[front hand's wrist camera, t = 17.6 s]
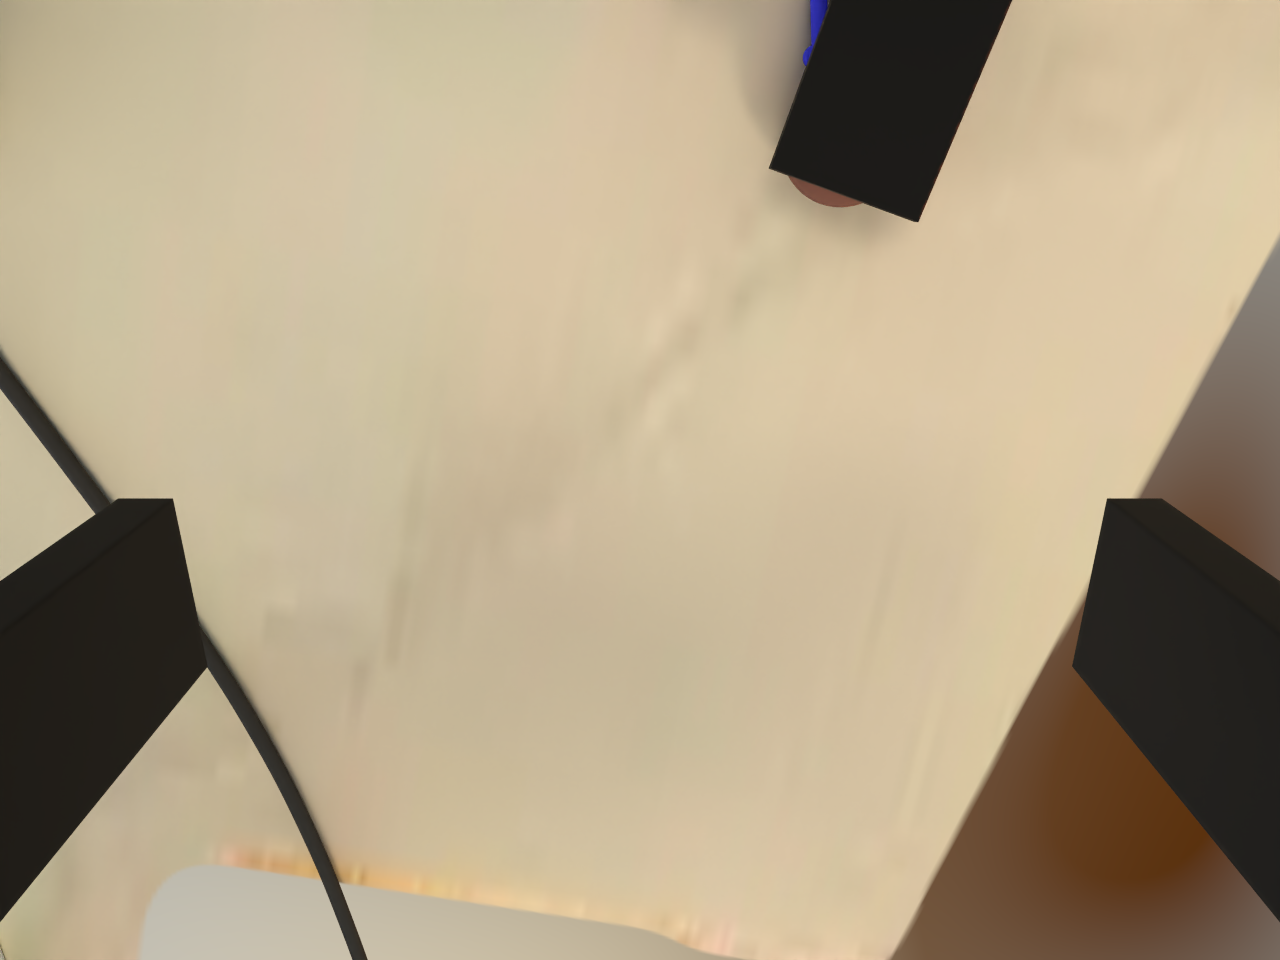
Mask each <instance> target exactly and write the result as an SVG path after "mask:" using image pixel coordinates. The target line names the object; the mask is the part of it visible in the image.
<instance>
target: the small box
mask: <svg viewBox="0 0 1280 960" xmlns="http://www.w3.org/2000/svg"><path fill="white" fill-rule="evenodd" d="M0 960H5V958H4V956H3V953H2V950H1V947H0Z"/></svg>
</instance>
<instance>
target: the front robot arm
mask: <svg viewBox="0 0 1280 960" xmlns="http://www.w3.org/2000/svg"><path fill="white" fill-rule="evenodd" d="M0 389H1V390H2V392H3V393H4V394H5V395H6V397H7V398H8V399H9V401H10V402H11V403H12V405H13V406H14V407H15V408H16V410H17V411H18V412H19V414H20V415H21V416H22V418H23V419H24V420H25V422H26V423H27V424H28V425H29V427H30V428H31V429H32V431H33V432H34V433H35V435H36V436H37V437H38V439H39V440H40V441H41V443H42V444H43V445H44V446H45V448H46V449H47V450H48V452H49V453H50V454H51V456H52V457H53V458H54V460H55V461H56V462H57V464H58V465H59V466H60V468H61V469H62V470H63V472H64V473H65V474H66V476H67V477H68V478H69V480H70V481H71V482H72V484H73V485H74V486H75V487H76V489H77V490H78V491H79V493H80V494H81V495H82V497H83V498H84V499H85V501H86V502H87V503H88V505H89V506H90V507H91V509H92V510H93V511H94V513H95V514H96V515H94V516H93V517H91V518H90V519H88V520H87V521H86V522H84V523H83V524H81V525H80V526H78V527H77V528H76V529H74V530H73V531H71V532H70V533H68V534H67V535H66V536H64V537H63V538H61V539H60V540H58V541H57V542H56V543H54V544H53V545H51V546H50V547H48V548H47V549H45V550H44V551H43V552H41V553H40V554H38V555H37V556H35V557H34V558H33V559H31V560H30V561H28V562H27V563H25V564H24V565H23V566H21V567H20V568H18V569H17V570H15V571H14V572H13V573H11V574H10V575H8V576H7V577H5V578H4V579H3V580H1V581H0V922H1V920H2V919H3V918H4V917H5V915H6V914H7V913H8V912H9V910H10V909H11V908H12V907H13V906H14V904H15V903H16V902H17V901H18V899H19V898H20V897H21V896H22V894H23V893H24V892H25V891H26V890H27V888H28V887H29V886H30V885H31V883H32V882H33V881H34V880H35V878H36V877H37V876H38V875H39V874H40V872H41V871H42V870H43V869H44V867H45V866H46V865H47V864H48V862H49V861H50V860H51V859H52V858H53V856H54V855H55V854H56V853H57V851H58V850H59V849H60V848H61V846H62V845H63V844H64V843H65V842H66V840H67V839H68V838H69V837H70V835H71V834H72V833H73V832H74V830H75V829H76V828H77V827H78V826H79V824H80V823H81V822H82V821H83V819H84V818H85V817H86V816H87V814H88V813H89V812H90V811H91V810H92V808H93V807H94V806H95V805H96V803H97V802H98V801H99V800H100V798H101V797H102V796H103V795H104V794H105V792H106V791H107V790H108V789H109V787H110V786H111V785H112V784H113V782H114V781H115V780H116V779H117V777H118V776H119V775H120V774H121V773H122V771H123V770H124V769H125V768H126V766H127V765H128V764H129V763H130V761H131V760H132V759H133V758H134V757H135V755H136V754H137V753H138V752H139V750H140V749H141V748H142V747H143V745H144V744H145V743H146V742H147V741H148V739H149V738H150V737H151V736H152V734H153V733H154V732H155V731H156V729H157V728H158V727H159V726H160V725H161V723H162V722H163V721H164V720H165V718H166V717H167V716H168V715H169V713H170V712H171V711H172V710H173V709H174V707H175V706H176V705H177V704H178V702H179V701H180V700H181V699H182V697H183V696H184V695H185V694H186V693H187V691H188V690H189V689H190V688H191V686H192V685H193V684H194V683H195V681H196V680H197V679H198V678H199V677H200V675H201V674H202V673H203V672H204V670H205V669H206V668H208V669H209V671H210V672H211V674H212V675H213V677H214V678H215V680H216V681H217V683H218V684H219V686H220V688H221V689H222V691H223V692H224V694H225V696H226V697H227V699H228V700H229V702H230V704H231V705H232V707H233V708H234V710H235V712H236V713H237V715H238V717H239V718H240V720H241V722H242V723H243V725H244V727H245V729H246V730H247V732H248V734H249V735H250V737H251V739H252V741H253V742H254V744H255V746H256V748H257V749H258V751H259V753H260V755H261V756H262V758H263V760H264V762H265V764H266V765H267V767H268V769H269V771H270V773H271V775H272V776H273V778H274V780H275V782H276V784H277V786H278V788H279V790H280V792H281V794H282V796H283V798H284V800H285V802H286V804H287V806H288V808H289V810H290V812H291V814H292V816H293V818H294V820H295V822H296V824H297V826H298V828H299V831H300V833H301V835H302V837H303V839H304V841H305V843H306V846H307V848H308V850H309V852H310V854H311V857H312V859H313V861H314V863H315V866H316V868H317V870H318V873H319V875H320V877H321V880H322V882H323V885H324V887H325V889H326V892H327V894H328V897H329V899H330V902H331V904H332V907H333V910H334V912H335V915H336V917H337V920H338V922H339V925H340V928H341V930H342V933H343V935H344V938H345V941H346V943H347V946H348V949H349V951H350V954H351V957H352V960H367V957H366V954H365V951H364V948H363V945H362V943H361V940H360V937H359V935H358V932H357V929H356V927H355V924H354V921H353V919H352V916H351V913H350V911H349V908H348V905H347V903H346V900H345V897H344V895H343V892H342V890H341V887H340V885H339V882H338V879H337V877H336V875H335V872H334V870H333V867H332V865H331V862H330V860H329V858H328V855H327V853H326V851H325V849H324V846H323V844H322V842H321V840H320V837H319V835H318V833H317V831H316V829H315V826H314V824H313V822H312V820H311V818H310V816H309V813H308V811H307V809H306V807H305V805H304V803H303V801H302V799H301V797H300V795H299V793H298V791H297V789H296V787H295V785H294V783H293V781H292V779H291V777H290V775H289V773H288V771H287V769H286V767H285V765H284V763H283V761H282V760H281V758H280V756H279V754H278V752H277V750H276V749H275V747H274V745H273V743H272V741H271V740H270V738H269V736H268V734H267V733H266V731H265V729H264V727H263V726H262V724H261V722H260V720H259V719H258V717H257V715H256V713H255V712H254V710H253V708H252V707H251V705H250V703H249V702H248V700H247V698H246V697H245V695H244V693H243V692H242V690H241V688H240V687H239V685H238V684H237V682H236V680H235V679H234V677H233V676H232V674H231V672H230V671H229V669H228V668H227V666H226V665H225V663H224V662H223V660H222V658H221V657H220V655H219V654H218V652H217V651H216V649H215V648H214V646H213V645H212V643H211V642H210V640H209V639H208V637H207V636H206V635H205V633H204V632H203V630H202V629H201V627H200V626H199V622H198V617H197V612H196V607H195V603H194V598H193V593H192V588H191V583H190V579H189V574H188V569H187V564H186V559H185V555H184V550H183V545H182V540H181V535H180V531H179V526H178V521H177V516H176V511H175V507H174V502H173V499H117V500H116V501H114V502H113V503H111V504H110V503H109V502H108V500H107V499H106V498H105V496H104V495H103V493H102V492H101V491H100V489H99V488H98V487H97V485H96V484H95V483H94V481H93V480H92V479H91V477H90V476H89V475H88V473H87V472H86V471H85V469H84V468H83V467H82V465H81V464H80V463H79V461H78V460H77V459H76V457H75V456H74V455H73V453H72V452H71V451H70V449H69V448H68V447H67V445H66V444H65V443H64V441H63V440H62V439H61V437H60V436H59V435H58V433H57V432H56V431H55V429H54V428H53V427H52V425H51V424H50V423H49V421H48V420H47V419H46V417H45V416H44V415H43V413H42V412H41V411H40V409H39V408H38V407H37V405H36V404H35V403H34V401H33V400H32V399H31V397H30V396H29V395H28V393H27V392H26V391H25V390H24V388H23V387H22V386H21V384H20V383H19V382H18V380H17V379H16V378H15V376H14V375H13V374H12V372H11V371H10V370H9V368H8V367H7V366H6V365H5V363H4V362H3V361H2V359H1V358H0ZM1072 667H1073V668H1074V669H1075V670H1076V672H1077V673H1078V674H1079V675H1080V677H1081V678H1082V679H1083V680H1084V681H1085V683H1086V684H1087V685H1088V686H1089V687H1090V689H1091V690H1092V691H1093V693H1094V694H1095V695H1096V696H1097V697H1098V699H1099V700H1100V701H1101V702H1102V704H1103V705H1104V706H1105V707H1106V709H1107V710H1108V711H1109V712H1110V713H1111V715H1112V716H1113V717H1114V718H1115V720H1116V721H1117V722H1118V723H1119V725H1120V726H1121V727H1122V728H1123V729H1124V731H1125V732H1126V733H1127V734H1128V736H1129V737H1130V738H1131V739H1132V740H1133V742H1134V743H1135V744H1136V745H1137V747H1138V748H1139V749H1140V750H1141V752H1142V753H1143V754H1144V755H1145V757H1146V758H1147V759H1148V760H1149V761H1150V763H1151V764H1152V765H1153V766H1154V768H1155V769H1156V770H1157V771H1158V773H1159V774H1160V775H1161V776H1162V777H1163V779H1164V780H1165V781H1166V782H1167V784H1168V785H1169V786H1170V787H1171V789H1172V790H1173V791H1174V792H1175V794H1176V795H1177V796H1178V797H1179V798H1180V800H1181V801H1182V802H1183V803H1184V805H1185V806H1186V807H1187V808H1188V810H1189V811H1190V812H1191V813H1192V814H1193V816H1194V817H1195V818H1196V819H1197V821H1198V822H1199V823H1200V824H1201V826H1202V827H1203V828H1204V829H1205V830H1206V832H1207V833H1208V834H1209V835H1210V837H1211V838H1212V839H1213V840H1214V842H1215V843H1216V844H1217V845H1218V846H1219V848H1220V849H1221V850H1222V851H1223V853H1224V854H1225V855H1226V856H1227V857H1228V859H1229V860H1230V861H1231V862H1232V864H1233V865H1234V866H1235V867H1236V869H1237V870H1238V871H1239V872H1240V874H1241V875H1242V876H1243V877H1244V878H1245V880H1246V881H1247V882H1248V883H1249V885H1250V886H1251V887H1252V888H1253V890H1254V891H1255V892H1256V893H1257V894H1258V896H1259V897H1260V898H1261V899H1262V901H1263V902H1264V903H1265V904H1266V906H1267V907H1268V908H1269V909H1270V910H1271V912H1272V913H1273V914H1274V915H1275V917H1276V918H1277V919H1278V920H1279V922H1280V581H1279V580H1277V579H1276V578H1275V577H1273V576H1272V575H1270V574H1269V573H1267V572H1266V571H1265V570H1263V569H1262V568H1260V567H1259V566H1257V565H1256V564H1255V563H1253V562H1252V561H1250V560H1249V559H1247V558H1246V557H1245V556H1243V555H1242V554H1240V553H1239V552H1237V551H1236V550H1234V549H1233V548H1232V547H1230V546H1229V545H1227V544H1226V543H1224V542H1223V541H1222V540H1220V539H1219V538H1217V537H1216V536H1214V535H1213V534H1212V533H1210V532H1209V531H1207V530H1206V529H1204V528H1203V527H1202V526H1200V525H1199V524H1197V523H1196V522H1194V521H1193V520H1192V519H1190V518H1189V517H1187V516H1186V515H1184V514H1183V513H1182V512H1180V511H1179V510H1177V509H1176V508H1174V507H1173V506H1172V505H1170V504H1169V503H1167V502H1166V501H1164V500H1163V499H1107V502H1106V507H1105V511H1104V516H1103V521H1102V526H1101V531H1100V535H1099V540H1098V545H1097V550H1096V555H1095V559H1094V564H1093V569H1092V574H1091V579H1090V583H1089V588H1088V593H1087V598H1086V603H1085V607H1084V612H1083V617H1082V622H1081V627H1080V631H1079V636H1078V641H1077V646H1076V650H1075V655H1074V660H1073V665H1072Z"/></svg>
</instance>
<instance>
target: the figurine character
mask: <svg viewBox="0 0 1280 960" xmlns="http://www.w3.org/2000/svg"><path fill="white" fill-rule="evenodd" d="M1011 2H1012V0H830V2H829V5H828V8H827V0H810V13H811V46H809V47H808V48H807V49H806V50H805V52H804V54H803V62H804V65H805V66H806V68H805V71H804V73H803V76H802V79H801V82H800V84H799V87H798V90H797V93H796V95H795V98H794V101H793V104H792V106H791V109H790V112H789V114H788V117H787V120H786V123H785V125H784V128H783V131H782V134H781V136H780V139H779V142H778V145H777V147H776V150H775V153H774V155H773V158H772V161H771V164H770V166H769V169H772V170H774V171H777V172H780V173H783V174H785V175H788V176H789V178H790V180H791V181H792V183H793V184H794V185H795V187H796V188H797V189H798V190H799V191H800V192H801V193H802V194H804V195H805V196H806V197H808V198H809V199H811V200H813V201H815V202H817V203H820V204H823V205H826V206H832V207H849V206H854V205H858V204H861V203H864V204H867V205H870V206H873V207H875V208H878V209H881V210H883V211H886V212H889V213H892V214H894V215H897V216H900V217H903V218H905V219H908V220H911V221H913V222H919V219H920V217H921V214H922V212H923V210H924V207H925V205H926V203H927V200H928V198H929V196H930V193H931V191H932V188H933V186H934V184H935V181H936V179H937V177H938V174H939V172H940V170H941V167H942V165H943V162H944V160H945V158H946V155H947V153H948V151H949V148H950V146H951V143H952V141H953V139H954V136H955V134H956V132H957V129H958V127H959V125H960V122H961V120H962V117H963V115H964V113H965V110H966V108H967V106H968V103H969V101H970V99H971V96H972V94H973V91H974V89H975V87H976V84H977V82H978V80H979V77H980V75H981V73H982V70H983V68H984V65H985V63H986V61H987V58H988V56H989V54H990V51H991V49H992V47H993V44H994V42H995V39H996V37H997V35H998V32H999V30H1000V28H1001V25H1002V23H1003V21H1004V18H1005V16H1006V13H1007V11H1008V9H1009V6H1010V4H1011Z"/></svg>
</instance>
